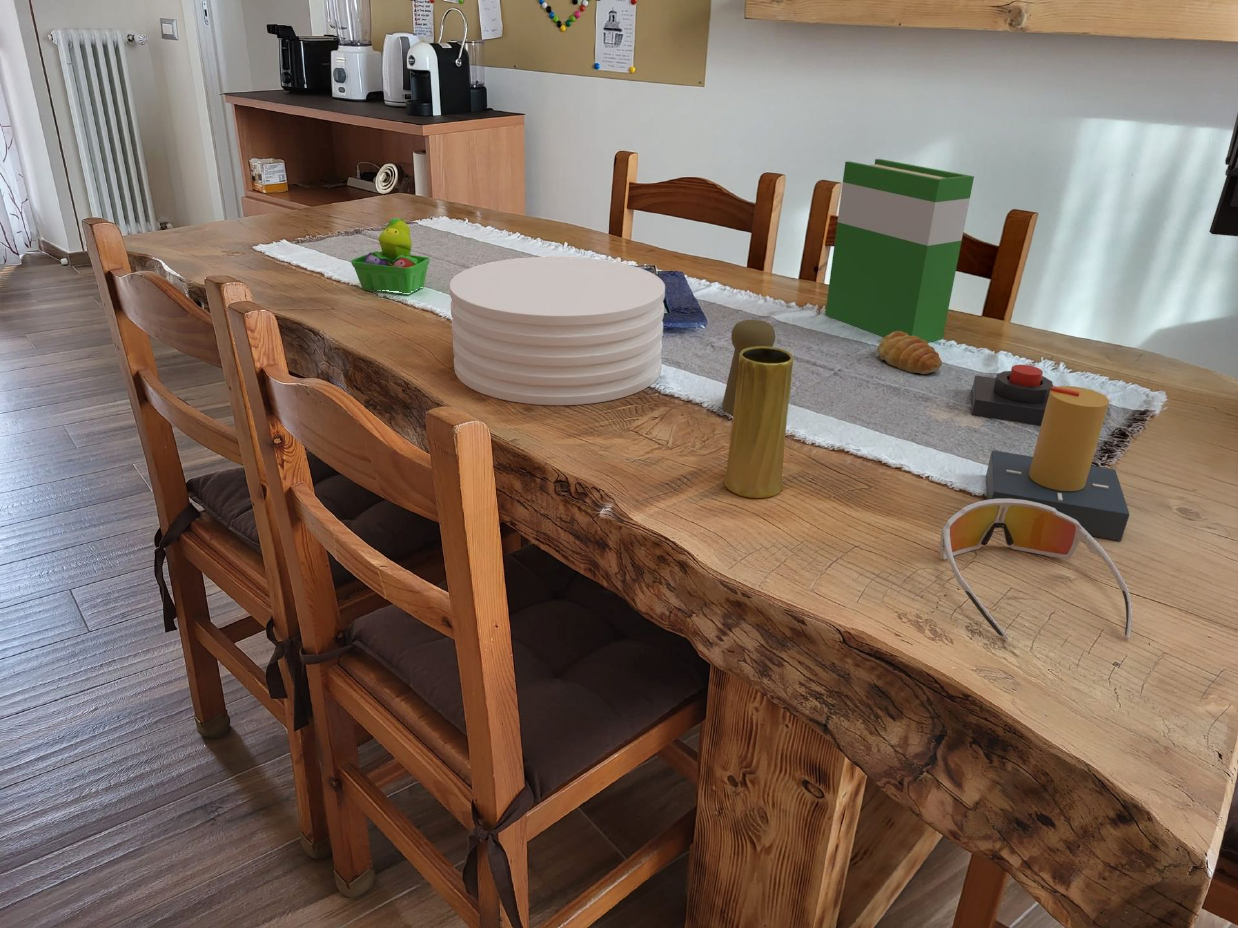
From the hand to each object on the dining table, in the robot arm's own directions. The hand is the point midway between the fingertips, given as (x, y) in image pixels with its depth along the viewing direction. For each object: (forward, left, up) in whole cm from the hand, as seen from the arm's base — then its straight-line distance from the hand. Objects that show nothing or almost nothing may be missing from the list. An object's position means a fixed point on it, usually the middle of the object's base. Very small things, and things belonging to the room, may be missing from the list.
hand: (1223, 234), depth 106 cm
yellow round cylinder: (+16, +33, -19) cm, 41 cm away
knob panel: (+16, +33, -22) cm, 43 cm away
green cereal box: (+37, -21, -23) cm, 48 cm away
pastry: (+32, -5, -23) cm, 39 cm away
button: (+18, +7, -19) cm, 27 cm away
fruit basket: (+117, -8, -23) cm, 119 cm away
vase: (+45, +40, -23) cm, 64 cm away
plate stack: (+77, +16, -23) cm, 82 cm away
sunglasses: (+19, +50, -23) cm, 58 cm away
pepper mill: (+50, +20, -23) cm, 58 cm away
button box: (+18, +7, -22) cm, 30 cm away
